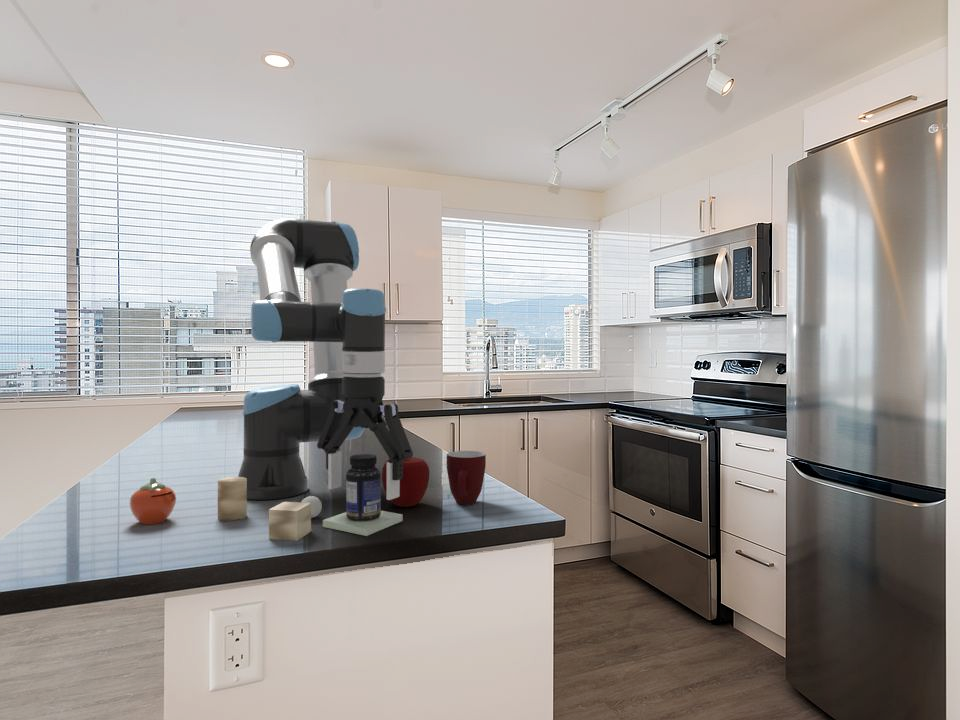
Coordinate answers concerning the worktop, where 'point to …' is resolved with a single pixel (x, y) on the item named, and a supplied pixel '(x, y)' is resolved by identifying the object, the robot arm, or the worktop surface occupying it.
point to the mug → (466, 475)
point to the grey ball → (313, 505)
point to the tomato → (152, 503)
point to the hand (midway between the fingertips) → (363, 493)
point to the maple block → (289, 521)
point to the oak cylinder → (232, 498)
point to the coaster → (362, 523)
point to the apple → (410, 482)
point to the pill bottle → (363, 488)
